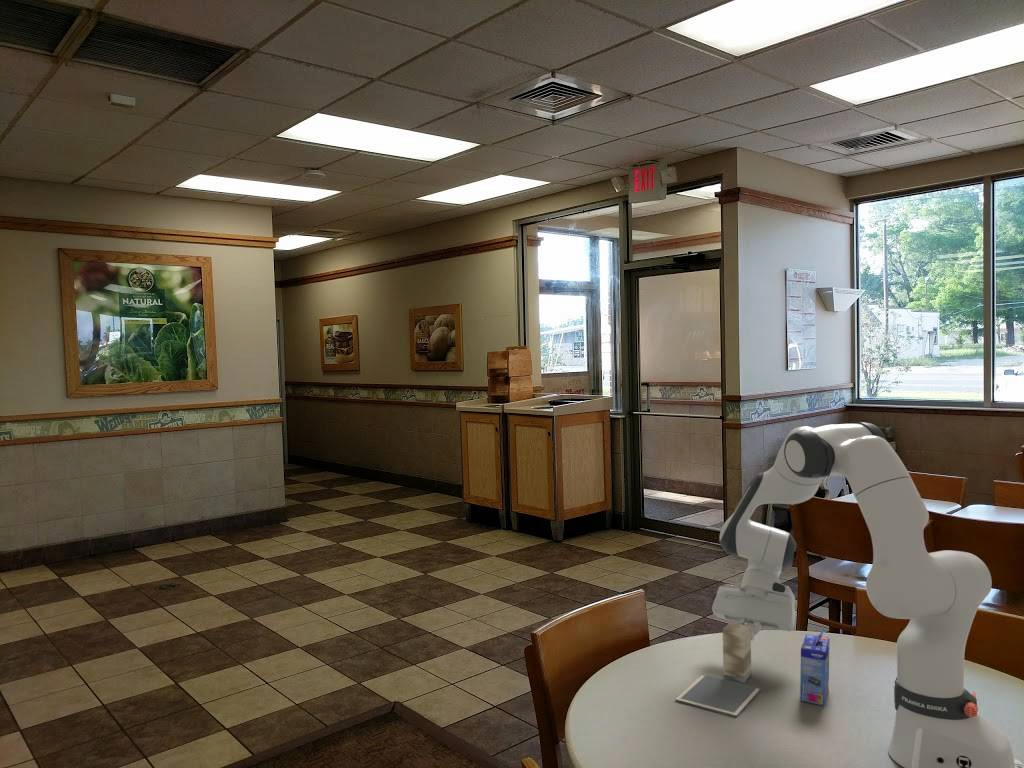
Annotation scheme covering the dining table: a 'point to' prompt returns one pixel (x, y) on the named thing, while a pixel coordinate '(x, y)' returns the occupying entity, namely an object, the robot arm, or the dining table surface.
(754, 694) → the rubber mat
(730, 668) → the birch block
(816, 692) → the ink cartridge box
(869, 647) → the dining table surface
